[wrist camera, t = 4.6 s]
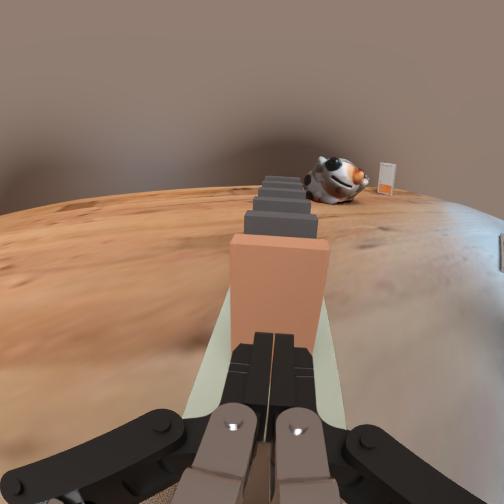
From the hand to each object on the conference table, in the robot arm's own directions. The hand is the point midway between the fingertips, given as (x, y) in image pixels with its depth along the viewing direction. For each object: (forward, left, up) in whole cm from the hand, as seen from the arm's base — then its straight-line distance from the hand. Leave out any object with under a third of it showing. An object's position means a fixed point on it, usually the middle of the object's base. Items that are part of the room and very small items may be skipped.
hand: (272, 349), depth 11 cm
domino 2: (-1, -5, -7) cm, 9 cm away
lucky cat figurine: (-27, -68, -8) cm, 74 cm away
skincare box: (-57, -89, -8) cm, 106 cm away
